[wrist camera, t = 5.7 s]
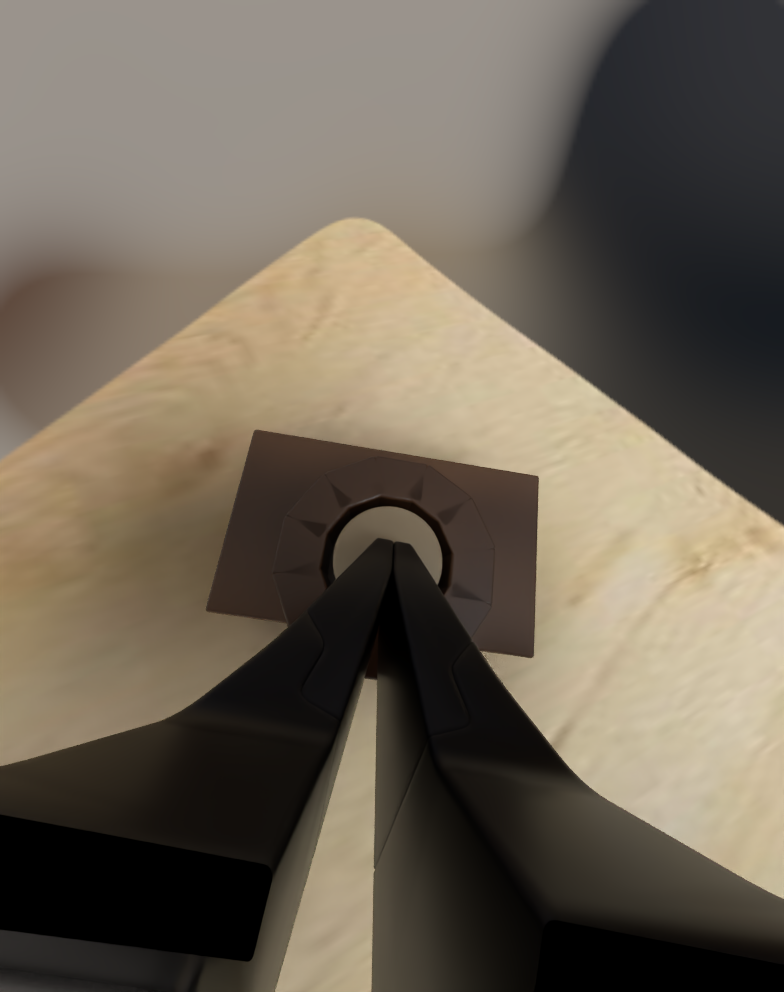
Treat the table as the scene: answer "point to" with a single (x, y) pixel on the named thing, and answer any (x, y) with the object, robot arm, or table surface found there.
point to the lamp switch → (387, 537)
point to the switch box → (365, 485)
